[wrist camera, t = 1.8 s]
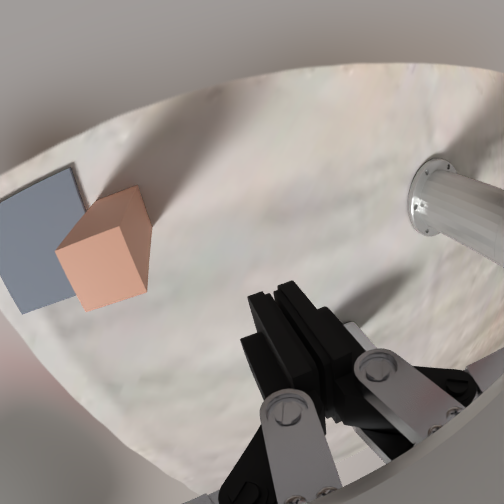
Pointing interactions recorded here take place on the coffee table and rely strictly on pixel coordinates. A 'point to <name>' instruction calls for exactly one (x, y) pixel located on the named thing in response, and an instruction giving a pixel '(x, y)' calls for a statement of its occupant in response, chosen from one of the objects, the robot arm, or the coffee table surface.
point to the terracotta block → (109, 250)
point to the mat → (38, 240)
